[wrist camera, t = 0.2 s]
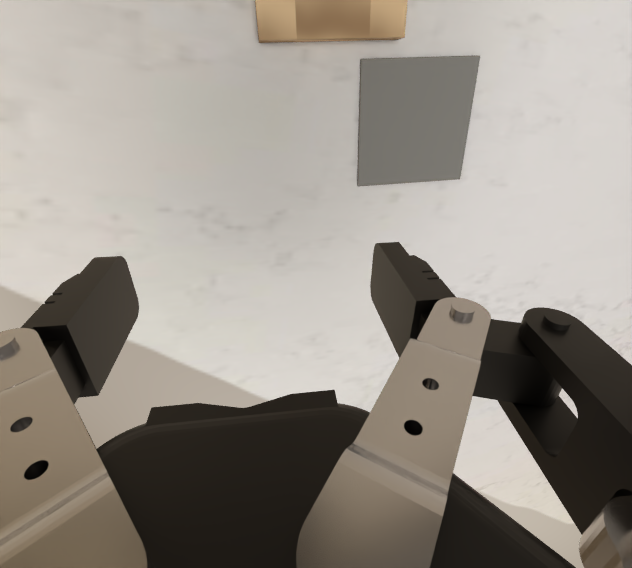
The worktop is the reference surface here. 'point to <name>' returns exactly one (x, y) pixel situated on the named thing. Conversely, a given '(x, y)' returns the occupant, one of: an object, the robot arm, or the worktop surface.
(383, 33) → the oak socket
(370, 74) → the grey mat
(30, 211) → the worktop surface
